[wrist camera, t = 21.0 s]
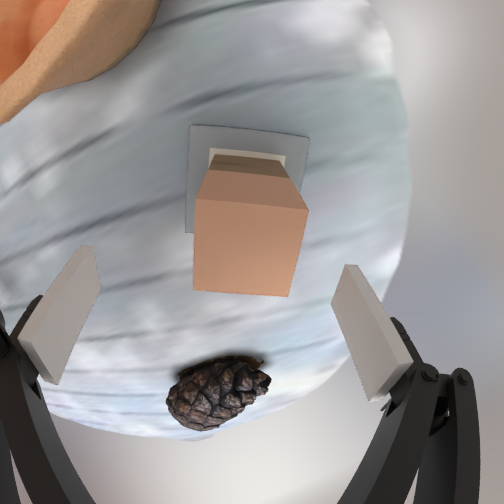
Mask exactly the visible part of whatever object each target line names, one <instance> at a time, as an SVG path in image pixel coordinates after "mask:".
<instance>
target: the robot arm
mask: <svg viewBox="0 0 504 504" xmlns="http://www.w3.org/2000/svg"><path fill="white" fill-rule="evenodd" d="M101 289H102V288H101V283H100V279H99V274H98V270H97V265H96V260H95V254H94V249H93V246H83V245H81V246H80V247H79V248H78V250H77V251H76V252H75V253H74V255H73V256H72V257H71V259H70V260H69V261H68V263H67V264H66V265H65V266H64V268H63V269H62V270H61V272H60V273H59V275H58V276H57V277H56V279H55V280H54V282H53V283H52V284H51V286H50V287H49V289H48V290H47V292H46V293H45V294H44V296H43V295H39V296H37V297H36V298H35V299H34V300H32V301H31V303H30V304H29V306H28V307H27V309H26V311H25V312H24V313H23V315H22V317H21V318H20V320H19V321H18V323H17V324H16V326H15V328H14V329H13V331H12V333H11V334H10V336H9V335H8V334H7V332H6V330H5V328H4V327H5V323H4V319H3V316H2V314H1V312H0V504H21V502H20V499H19V495H18V491H17V486H16V482H15V478H14V473H13V467H12V461H11V454H10V450H11V453H12V456H13V458H14V462H15V464H16V467H17V469H18V472H19V475H20V477H21V479H22V482H23V484H24V486H25V489H26V491H27V493H28V495H29V497H30V499H31V501H32V503H33V504H96V503H95V502H94V500H93V499H92V497H91V496H90V494H89V493H88V491H87V489H86V488H85V486H84V484H83V483H82V481H81V479H80V477H79V476H78V474H77V472H76V470H75V468H74V467H73V465H72V463H71V461H70V459H69V457H68V455H67V453H66V451H65V449H64V447H63V444H62V442H61V440H60V438H59V436H58V433H57V431H56V429H55V426H54V424H53V421H52V419H51V416H50V414H49V411H48V408H47V405H46V403H45V400H44V397H43V394H42V391H41V388H40V385H39V382H38V381H37V377H38V374H40V375H41V377H42V378H43V380H44V381H46V382H49V383H52V384H55V385H58V384H59V381H60V379H61V376H62V374H63V371H64V368H65V366H66V364H67V361H68V359H69V356H70V354H71V352H72V349H73V347H74V345H75V343H76V340H77V338H78V336H79V334H80V331H81V329H82V327H83V325H84V323H85V321H86V319H87V317H88V315H89V313H90V311H91V309H92V307H93V305H94V303H95V301H96V299H97V297H98V295H99V293H100V291H101ZM331 306H332V308H333V310H334V313H335V315H336V318H337V320H338V323H339V325H340V328H341V330H342V333H343V335H344V338H345V340H346V343H347V345H348V348H349V350H350V353H351V356H352V358H353V361H354V363H355V366H356V369H357V371H358V374H359V377H360V379H361V382H362V385H363V388H364V391H365V393H366V396H367V399H368V402H371V401H377V400H382V399H383V398H384V397H385V396H386V395H387V394H388V393H390V395H391V399H390V400H389V401H388V402H387V403H386V404H385V405H384V407H383V408H382V409H381V411H383V410H384V409H385V408H386V409H385V411H384V414H383V416H382V419H381V421H380V424H379V426H378V428H377V430H376V433H375V435H374V437H373V439H372V441H371V443H370V446H369V448H368V450H367V452H366V454H365V456H364V458H363V460H362V461H361V463H360V465H359V467H358V469H357V471H356V473H355V475H354V476H353V478H352V480H351V482H350V483H349V485H348V487H347V489H346V490H345V492H344V493H343V495H342V497H341V498H340V500H339V501H338V503H337V504H404V502H405V500H406V498H407V495H408V493H409V491H410V488H411V486H412V483H413V480H414V478H415V475H416V473H417V470H418V467H419V470H418V478H417V484H416V491H415V496H414V502H413V504H478V499H479V486H480V435H479V422H478V411H477V403H476V396H475V389H474V383H473V379H472V377H471V375H470V373H469V372H468V371H467V370H465V369H463V368H457V369H455V370H454V371H453V373H452V374H451V375H448V374H439V372H438V371H437V369H436V368H435V367H433V366H432V365H430V364H426V363H424V362H423V361H422V359H421V357H420V355H419V353H418V352H417V350H416V348H415V346H414V345H413V343H412V341H410V337H409V336H408V334H407V332H406V330H405V329H404V327H403V325H402V324H401V323H400V322H399V321H398V320H397V319H396V318H395V317H391V318H389V316H388V314H387V312H386V311H385V309H384V307H383V306H382V304H381V302H380V301H379V299H378V297H377V296H376V294H375V292H374V291H373V289H372V287H371V286H370V284H369V283H368V281H367V279H366V278H365V276H364V275H363V273H362V271H361V270H360V268H359V267H358V265H348V264H345V266H344V269H343V272H342V275H341V277H340V280H339V283H338V286H337V289H336V291H335V294H334V297H333V299H332V302H331ZM448 411H449V416H448Z"/></svg>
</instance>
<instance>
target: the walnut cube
mask: <svg viewBox="0 0 504 504" xmlns="http://www.w3.org/2000/svg"><path fill="white" fill-rule="evenodd" d="M208 170H219V171H230V172H241V173H250V174H259V175H268V176H276V177H284V178H290V177H289V175H288V174H287V172H286V170H285V169H284V167H283V165H282V164H281V162H280V161H277V160H270V159H261V158H252V157H242V156H231V155H219V154H215V155H214V157H213V159H212V162H211V164H210V166H209V169H208Z"/></svg>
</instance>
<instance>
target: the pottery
mask: <svg viewBox="0 0 504 504" xmlns="http://www.w3.org/2000/svg"><path fill="white" fill-rule="evenodd" d="M160 2H161V0H0V124H2V123H5V122H8V121H10V120H11V119H12V118H13V117H14V116H15V115H16V114H17V113H18V112H20V111H21V110H22V109H23V108H24V107H25V106H27V105H28V104H29V103H30V102H31V101H32V100H34V99H35V98H36V97H37V96H39V95H40V94H42V93H45V92H48V91H51V90H54V89H58V88H61V87H64V86H68V85H71V84H75V83H79V82H84V81H89V80H92V79H93V78H95V77H97V76H98V75H100V74H102V73H104V72H106V71H107V70H109V69H111V68H113V67H115V66H116V65H117V64H118V63H119V62H120V61H121V60H122V59H123V58H124V57H125V56H126V55H127V54H129V53H130V52H131V51H132V50H133V49H134V48H135V47H137V45H138V43H139V42H140V41H141V39H142V38H143V36H144V35H145V33H146V32H147V30H148V29H149V28H150V26H151V25H152V23H153V22H154V19H155V16H156V13H157V10H158V7H159V5H160Z"/></svg>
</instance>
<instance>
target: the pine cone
mask: <svg viewBox="0 0 504 504" xmlns="http://www.w3.org/2000/svg"><path fill="white" fill-rule="evenodd" d="M261 360H262V359H261ZM263 363H264V360H262V361H261V363H260V362H258V361H256V359H254V358H253V357H247V356H225V357H220V358H216V359H213V360H210V361H206V362H204V363H201V364H199V365H196V366H194V367H191V368H188V369H186V370H184V371H182V372H181V373H179V374H178V375H179V378H180V381H179V382H178V383H177V384H176V385H174V386H173V387H171V388H170V391H169V396H168V397H167V399H166V404H167V405H168V410H169V412H170V413H171V414H172V416H173V417H174V418H175V419H176V420H177V421H178V422H179V423H180V424H181V425H183V426H184V427H187V428H190V429H193V430H197V431H207V430H211V429H213V428H219V426H220V425H221V424H223V423H225V422H226V421H228V420H230V419H232V418H234V417H236V416H237V415H238V414H239V413H241V412H242V411H244V409H245V406H247V405H250V404H253V403H254V400H255V399H256V396H260V395H265V394H266V392H268V388H267V387H268V386H269V384H270V383H271V378H270V376H269V375H267V374H265V373H264V372H262V371H261V370H257V368H259V367H260V366H261V364H263Z"/></svg>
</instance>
